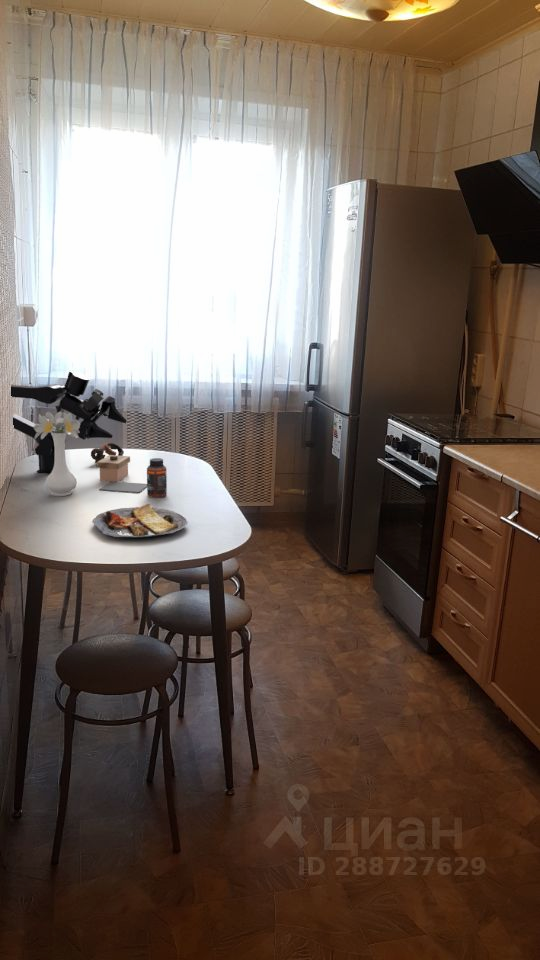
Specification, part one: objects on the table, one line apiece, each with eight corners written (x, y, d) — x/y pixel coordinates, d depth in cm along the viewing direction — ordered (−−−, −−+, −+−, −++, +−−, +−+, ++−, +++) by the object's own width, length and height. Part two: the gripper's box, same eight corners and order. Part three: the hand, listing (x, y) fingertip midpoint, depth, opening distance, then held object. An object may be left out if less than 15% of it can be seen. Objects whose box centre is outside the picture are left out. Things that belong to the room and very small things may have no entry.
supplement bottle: (170, 494, 235) (170, 458, 233) (160, 499, 230) (159, 462, 227) (154, 491, 238) (153, 456, 235) (143, 496, 233) (142, 460, 230)
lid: (97, 467, 247) (97, 459, 247) (109, 460, 258) (109, 452, 257) (118, 469, 246) (118, 460, 246) (130, 461, 257) (129, 453, 256)
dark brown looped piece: (107, 459, 281) (118, 441, 278) (120, 475, 276) (131, 457, 273) (81, 456, 271) (91, 437, 269) (93, 472, 266) (104, 453, 264)
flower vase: (85, 485, 243) (83, 407, 237) (78, 501, 226) (75, 417, 219) (43, 485, 242) (39, 406, 235) (33, 501, 224) (28, 417, 218)
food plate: (82, 519, 209) (82, 506, 208) (163, 510, 220) (163, 498, 219) (112, 549, 188) (111, 536, 187) (199, 538, 199) (199, 525, 198)
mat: (98, 490, 238) (98, 489, 238) (110, 482, 247) (110, 481, 247) (139, 493, 236) (139, 491, 236) (149, 485, 245) (149, 483, 245)
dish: (99, 480, 249) (99, 467, 248) (111, 473, 259) (110, 460, 257) (117, 482, 248) (117, 468, 247) (128, 474, 258) (127, 461, 257)
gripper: (65, 403, 240) (108, 426, 239) (96, 375, 254) (137, 396, 253) (61, 429, 247) (103, 451, 246) (91, 400, 261) (131, 421, 260)
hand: (119, 429), depth 251 cm, fingers open, 9 cm apart
